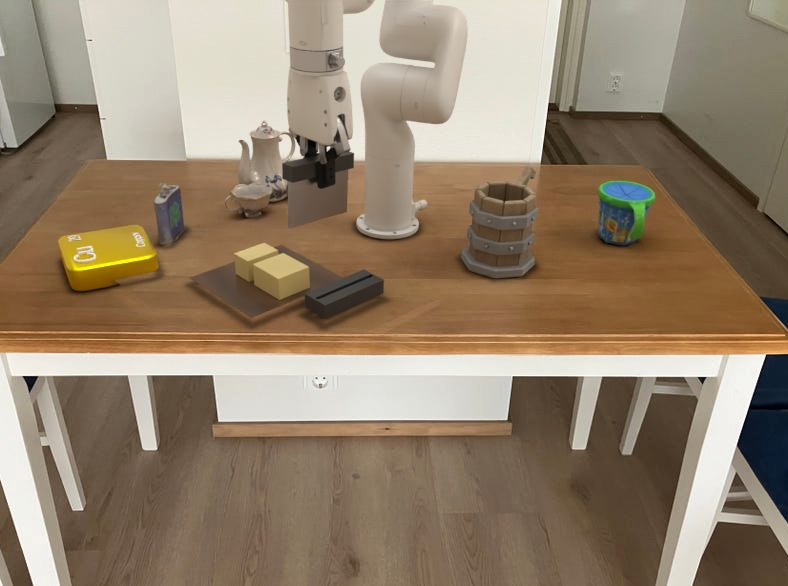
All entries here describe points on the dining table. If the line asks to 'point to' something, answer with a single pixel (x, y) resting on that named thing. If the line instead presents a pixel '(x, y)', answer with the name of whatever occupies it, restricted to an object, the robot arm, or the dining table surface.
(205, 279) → the cutting board
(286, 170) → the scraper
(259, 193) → the chinaware
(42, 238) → the dining table surface
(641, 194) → the snack cup
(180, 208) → the flask
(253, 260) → the butter slice
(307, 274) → the butter
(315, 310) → the scraper stand
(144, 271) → the element tile
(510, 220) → the tankard
